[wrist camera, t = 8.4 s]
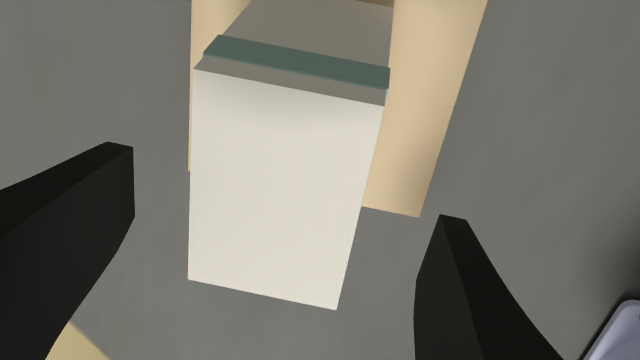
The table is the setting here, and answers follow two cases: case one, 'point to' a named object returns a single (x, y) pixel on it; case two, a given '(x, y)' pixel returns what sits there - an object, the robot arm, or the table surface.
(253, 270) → the carton block
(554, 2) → the table surface
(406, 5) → the oak block
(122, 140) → the table surface
